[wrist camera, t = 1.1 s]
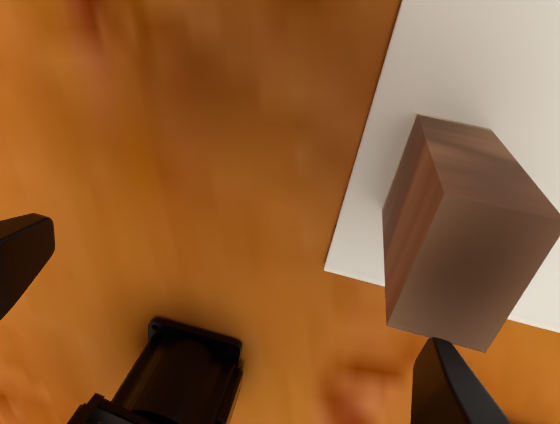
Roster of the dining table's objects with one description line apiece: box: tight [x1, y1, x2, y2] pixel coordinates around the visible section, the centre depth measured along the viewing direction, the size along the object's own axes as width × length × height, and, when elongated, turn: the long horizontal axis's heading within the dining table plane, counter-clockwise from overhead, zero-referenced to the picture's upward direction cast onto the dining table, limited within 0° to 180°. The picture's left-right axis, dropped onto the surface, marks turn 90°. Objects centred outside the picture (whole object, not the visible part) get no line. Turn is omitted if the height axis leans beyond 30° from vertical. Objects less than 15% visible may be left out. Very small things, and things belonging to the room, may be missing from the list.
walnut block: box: [382, 112, 560, 353], centre depth 15 cm, size 3×5×8 cm, turn 170°
